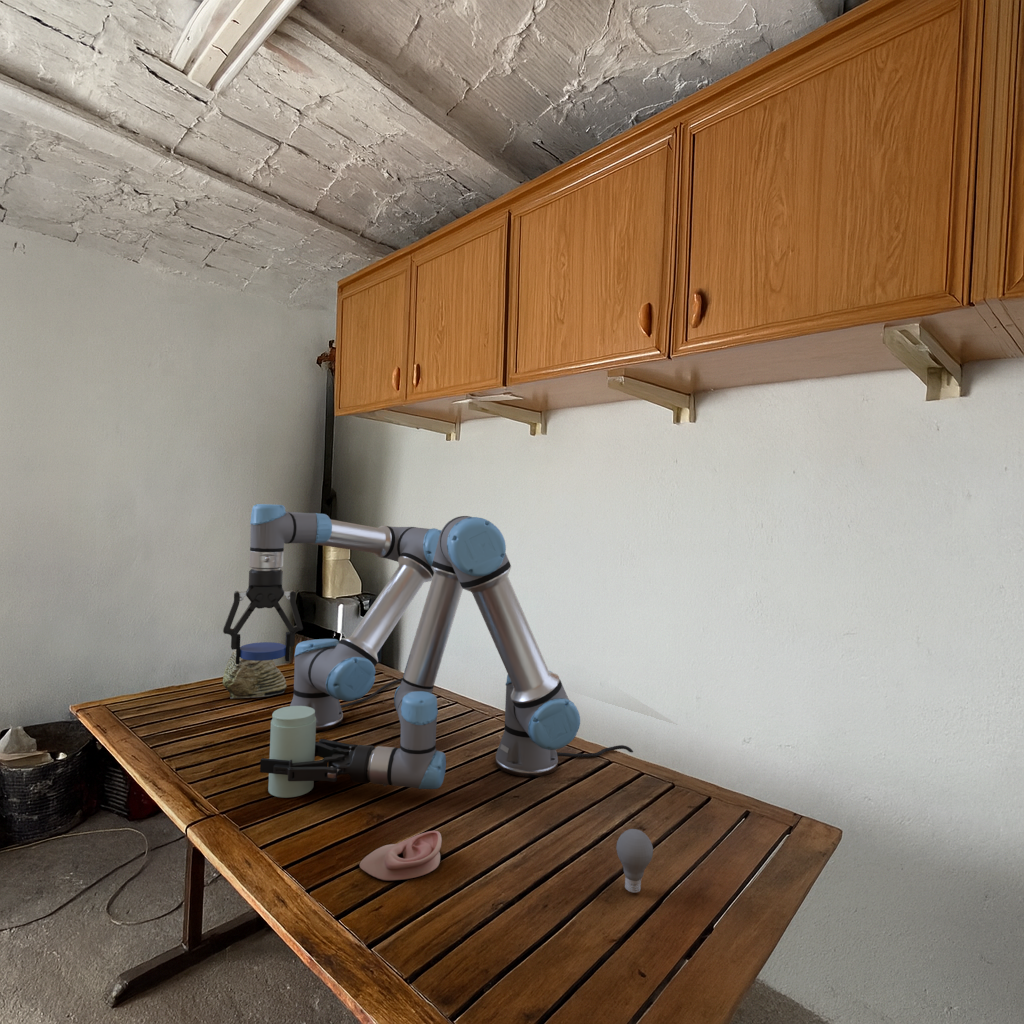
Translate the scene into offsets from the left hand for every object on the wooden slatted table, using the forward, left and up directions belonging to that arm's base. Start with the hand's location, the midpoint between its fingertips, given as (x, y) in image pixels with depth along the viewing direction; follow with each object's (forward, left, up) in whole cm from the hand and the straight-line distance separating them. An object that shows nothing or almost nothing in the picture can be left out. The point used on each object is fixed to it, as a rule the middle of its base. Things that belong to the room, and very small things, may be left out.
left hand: (262, 661), depth 151 cm
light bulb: (-15, +92, -23) cm, 96 cm away
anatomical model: (+6, +58, -23) cm, 63 cm away
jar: (+3, +19, -23) cm, 30 cm away
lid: (0, 0, +3) cm, 3 cm away
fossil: (-24, -45, -23) cm, 56 cm away
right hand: (+6, +15, -17) cm, 23 cm away
